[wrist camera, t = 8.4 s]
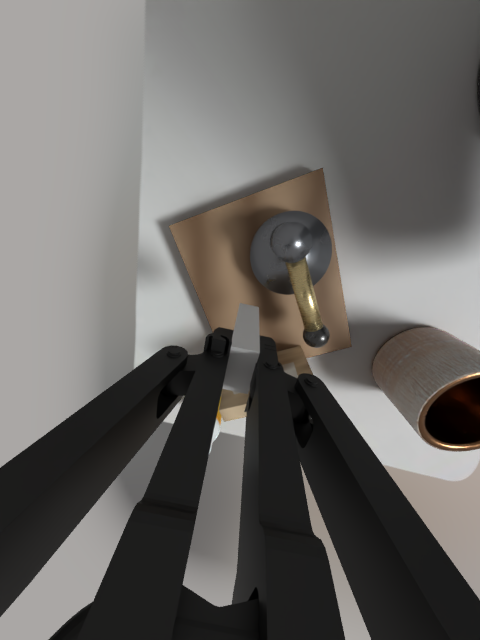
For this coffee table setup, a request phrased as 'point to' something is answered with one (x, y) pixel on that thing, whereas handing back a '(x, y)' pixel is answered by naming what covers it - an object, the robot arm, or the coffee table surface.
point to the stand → (242, 285)
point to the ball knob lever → (294, 264)
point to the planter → (433, 386)
